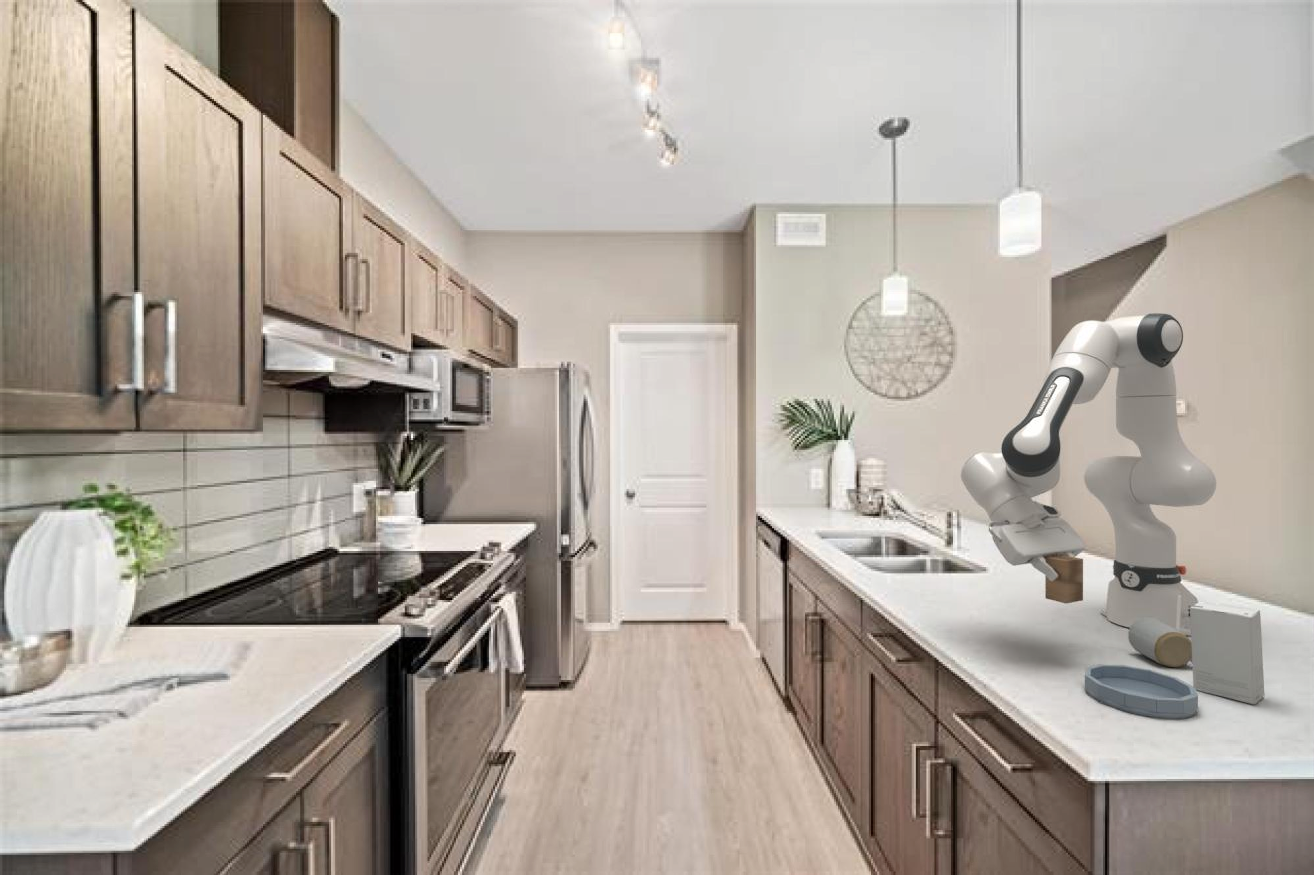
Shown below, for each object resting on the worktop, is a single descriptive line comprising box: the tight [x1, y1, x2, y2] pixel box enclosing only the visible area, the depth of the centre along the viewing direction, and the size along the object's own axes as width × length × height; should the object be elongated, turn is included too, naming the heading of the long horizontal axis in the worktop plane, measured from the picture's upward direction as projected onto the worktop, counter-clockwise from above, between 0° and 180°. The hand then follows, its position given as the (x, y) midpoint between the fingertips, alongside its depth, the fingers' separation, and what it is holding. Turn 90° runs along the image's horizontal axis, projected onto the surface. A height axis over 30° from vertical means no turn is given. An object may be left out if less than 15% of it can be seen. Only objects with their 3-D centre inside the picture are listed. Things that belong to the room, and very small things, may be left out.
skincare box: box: [1190, 600, 1265, 705], centre depth 106 cm, size 8×6×15 cm
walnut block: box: [1044, 555, 1084, 604], centre depth 119 cm, size 5×4×8 cm
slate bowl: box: [1084, 663, 1199, 720], centre depth 104 cm, size 15×15×3 cm
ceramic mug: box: [1127, 617, 1192, 668], centre depth 121 cm, size 11×8×8 cm
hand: (1067, 577), depth 119 cm, fingers closed on walnut block, 5 cm apart
